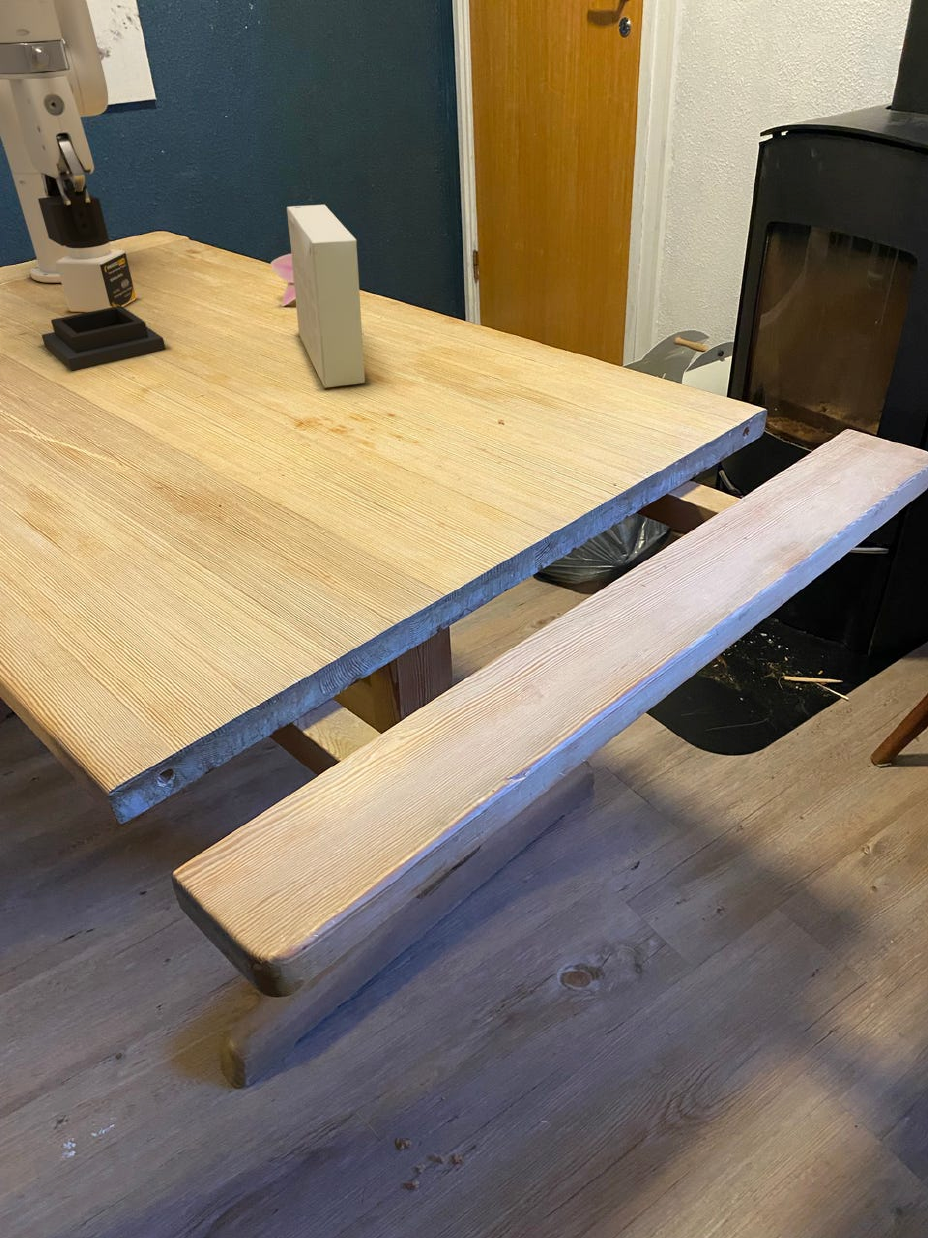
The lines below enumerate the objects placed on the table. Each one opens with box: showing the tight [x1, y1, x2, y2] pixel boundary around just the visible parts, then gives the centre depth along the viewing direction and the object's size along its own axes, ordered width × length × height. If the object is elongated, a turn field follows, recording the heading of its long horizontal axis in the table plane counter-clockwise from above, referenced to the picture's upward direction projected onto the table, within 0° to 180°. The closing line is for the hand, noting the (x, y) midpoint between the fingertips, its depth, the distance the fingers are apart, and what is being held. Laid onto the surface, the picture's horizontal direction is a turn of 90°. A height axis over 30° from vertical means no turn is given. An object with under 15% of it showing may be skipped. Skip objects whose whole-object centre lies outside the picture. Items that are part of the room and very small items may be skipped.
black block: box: [38, 193, 110, 246], centre depth 109 cm, size 6×6×4 cm
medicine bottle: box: [56, 223, 137, 313], centre depth 130 cm, size 7×7×12 cm
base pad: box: [41, 306, 166, 372], centre depth 117 cm, size 12×12×4 cm
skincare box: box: [286, 204, 366, 388], centre depth 107 cm, size 21×5×16 cm, turn 17°
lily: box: [269, 253, 296, 307], centre depth 129 cm, size 12×12×10 cm
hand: (77, 233), depth 110 cm, fingers closed on black block, 5 cm apart
